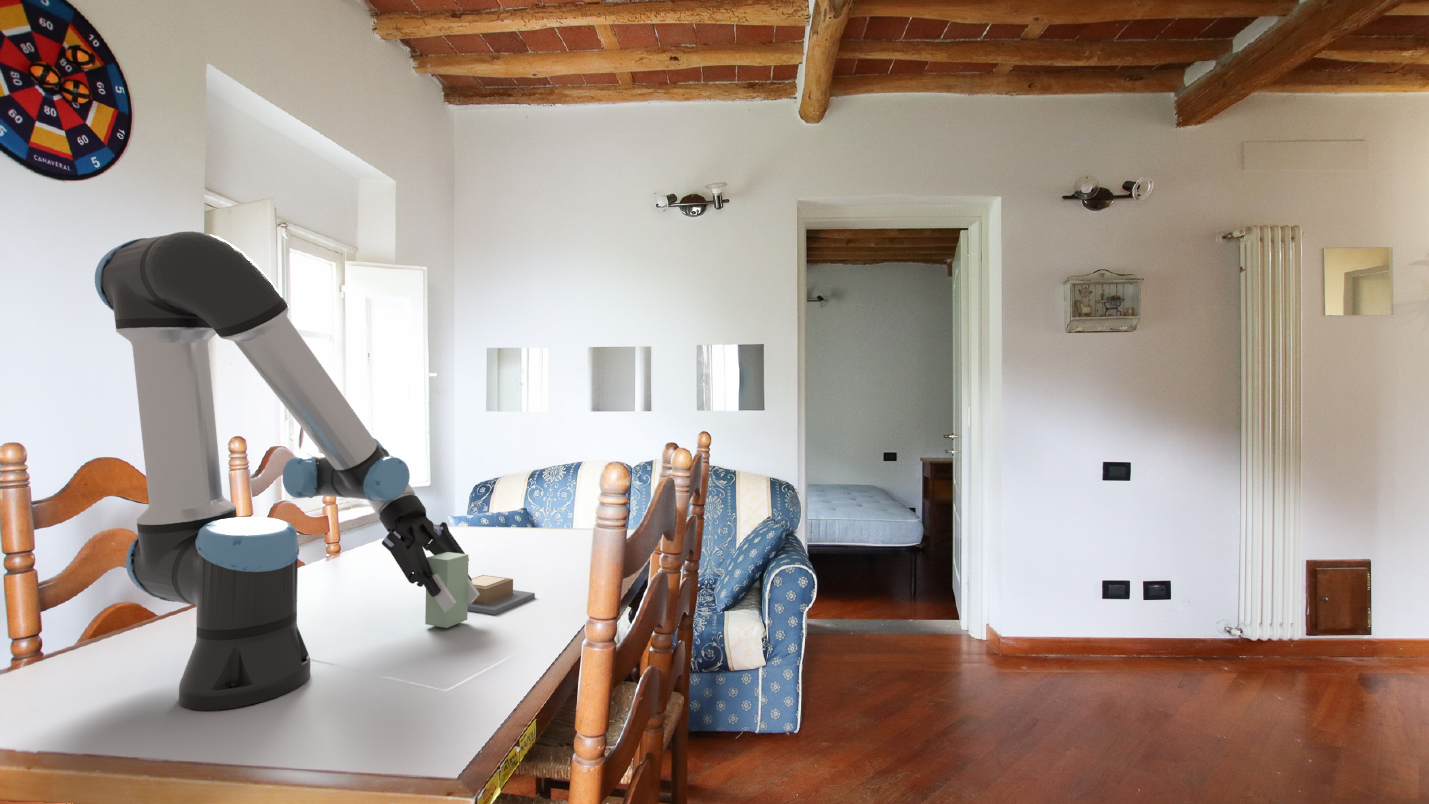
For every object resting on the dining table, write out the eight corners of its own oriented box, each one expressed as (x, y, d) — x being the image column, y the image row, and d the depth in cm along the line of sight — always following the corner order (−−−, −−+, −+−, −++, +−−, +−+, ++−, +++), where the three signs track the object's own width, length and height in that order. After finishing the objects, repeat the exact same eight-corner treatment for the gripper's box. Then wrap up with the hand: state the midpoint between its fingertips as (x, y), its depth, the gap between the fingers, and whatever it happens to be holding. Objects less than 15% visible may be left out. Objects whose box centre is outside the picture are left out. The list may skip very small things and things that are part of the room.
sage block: (446, 627, 113) (447, 560, 113) (425, 624, 115) (426, 557, 115) (467, 619, 117) (468, 554, 118) (446, 616, 119) (447, 551, 120)
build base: (494, 614, 122) (494, 593, 122) (431, 604, 128) (431, 583, 128) (534, 597, 133) (534, 577, 133) (475, 589, 139) (475, 569, 139)
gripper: (424, 512, 131) (486, 602, 124) (344, 526, 114) (410, 631, 107) (445, 488, 129) (508, 578, 122) (366, 498, 112) (434, 604, 105)
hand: (462, 603), depth 115 cm, fingers closed on sage block, 5 cm apart
